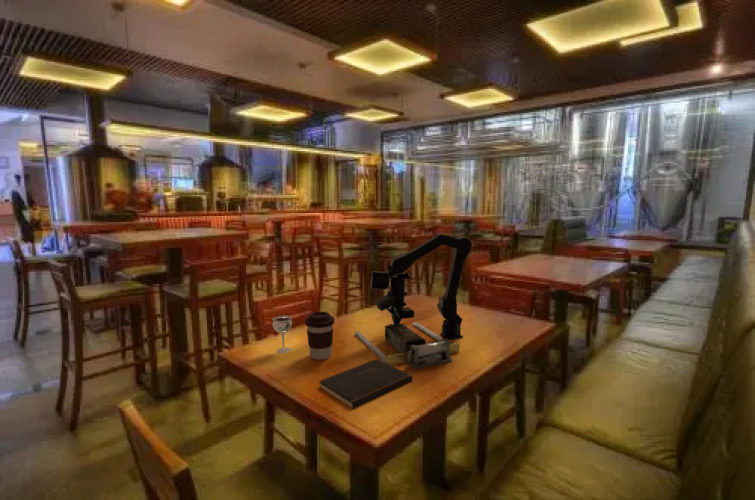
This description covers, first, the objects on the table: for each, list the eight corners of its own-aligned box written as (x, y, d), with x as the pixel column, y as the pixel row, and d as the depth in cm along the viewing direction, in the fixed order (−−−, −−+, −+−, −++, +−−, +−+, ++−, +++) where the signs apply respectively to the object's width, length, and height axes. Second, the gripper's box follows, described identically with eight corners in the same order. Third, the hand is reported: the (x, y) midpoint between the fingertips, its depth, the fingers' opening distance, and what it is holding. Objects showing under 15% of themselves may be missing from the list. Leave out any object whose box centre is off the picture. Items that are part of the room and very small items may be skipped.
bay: (416, 324, 169) (416, 317, 168) (459, 351, 140) (459, 343, 140) (354, 334, 158) (354, 327, 157) (387, 365, 129) (387, 357, 129)
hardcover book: (318, 388, 116) (318, 381, 116) (377, 365, 131) (377, 358, 131) (352, 411, 104) (352, 402, 104) (412, 382, 119) (412, 375, 119)
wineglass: (269, 352, 140) (268, 320, 138) (280, 345, 146) (279, 314, 144) (286, 355, 138) (285, 322, 136) (296, 348, 144) (295, 316, 142)
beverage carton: (403, 337, 154) (403, 321, 153) (426, 356, 136) (426, 338, 135) (384, 340, 151) (384, 323, 150) (405, 360, 134) (405, 341, 132)
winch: (443, 355, 137) (443, 337, 136) (451, 361, 133) (452, 342, 132) (403, 363, 131) (403, 345, 130) (410, 369, 126) (411, 350, 125)
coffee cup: (339, 352, 140) (339, 311, 138) (327, 363, 131) (326, 320, 129) (314, 348, 143) (313, 308, 141) (301, 359, 134) (299, 317, 132)
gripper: (369, 284, 156) (367, 321, 159) (388, 298, 139) (386, 339, 142) (394, 282, 160) (392, 318, 163) (416, 295, 143) (413, 336, 146)
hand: (395, 327), depth 154 cm, fingers closed
